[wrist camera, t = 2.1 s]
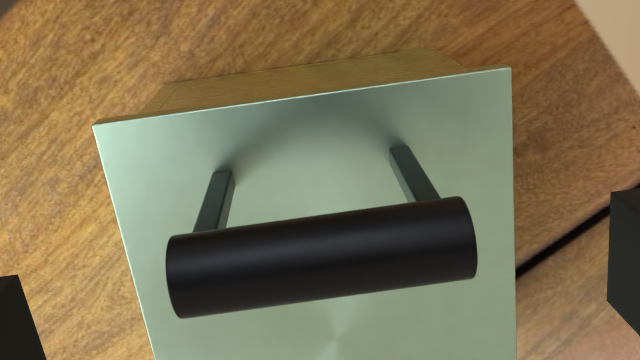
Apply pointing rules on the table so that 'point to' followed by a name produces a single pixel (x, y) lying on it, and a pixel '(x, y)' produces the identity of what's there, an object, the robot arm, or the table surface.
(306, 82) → the freezer
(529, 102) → the table surface
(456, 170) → the freezer lid
